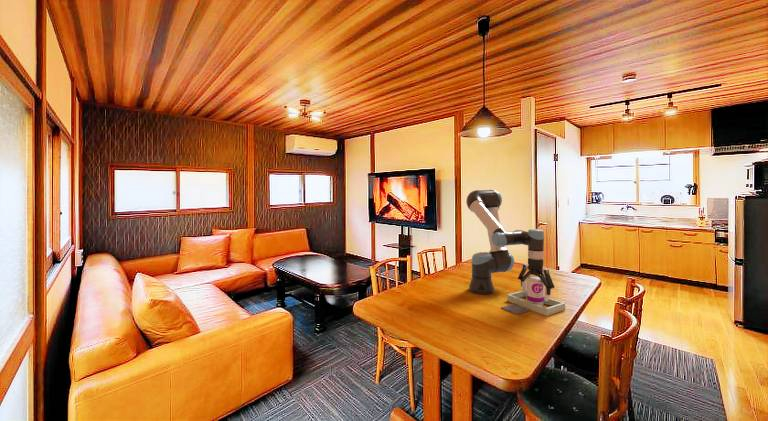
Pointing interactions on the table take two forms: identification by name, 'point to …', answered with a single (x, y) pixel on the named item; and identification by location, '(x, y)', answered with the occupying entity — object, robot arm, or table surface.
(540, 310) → the grey rectangular frame
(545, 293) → the robot arm
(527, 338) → the table surface
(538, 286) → the supplement can
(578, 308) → the table surface
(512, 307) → the mat
